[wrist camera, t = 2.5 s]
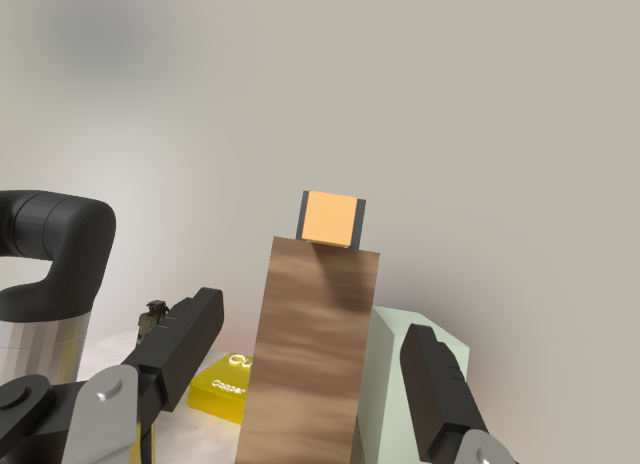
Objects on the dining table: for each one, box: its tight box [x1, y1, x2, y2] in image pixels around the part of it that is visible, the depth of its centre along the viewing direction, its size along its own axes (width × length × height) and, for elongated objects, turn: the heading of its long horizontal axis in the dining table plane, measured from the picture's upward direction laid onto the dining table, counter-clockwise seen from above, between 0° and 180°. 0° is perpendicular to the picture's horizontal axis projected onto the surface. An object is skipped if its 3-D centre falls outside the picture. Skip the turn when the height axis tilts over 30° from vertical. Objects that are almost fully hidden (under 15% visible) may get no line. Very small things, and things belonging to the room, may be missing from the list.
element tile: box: [187, 353, 253, 425], centre depth 50 cm, size 15×15×5 cm
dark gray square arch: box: [295, 191, 366, 250], centre depth 38 cm, size 2×10×8 cm, turn 88°
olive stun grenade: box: [135, 300, 170, 348], centre depth 52 cm, size 6×7×15 cm
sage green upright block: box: [357, 305, 469, 464], centre depth 42 cm, size 18×10×22 cm, turn 178°
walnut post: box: [235, 236, 380, 464], centre depth 33 cm, size 12×12×32 cm
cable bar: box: [302, 191, 357, 247], centre depth 30 cm, size 24×4×4 cm, turn 178°
